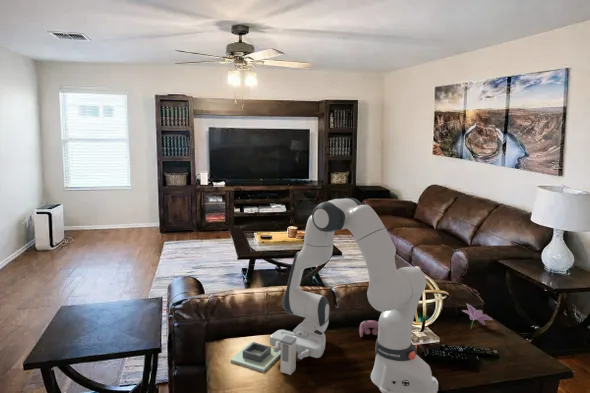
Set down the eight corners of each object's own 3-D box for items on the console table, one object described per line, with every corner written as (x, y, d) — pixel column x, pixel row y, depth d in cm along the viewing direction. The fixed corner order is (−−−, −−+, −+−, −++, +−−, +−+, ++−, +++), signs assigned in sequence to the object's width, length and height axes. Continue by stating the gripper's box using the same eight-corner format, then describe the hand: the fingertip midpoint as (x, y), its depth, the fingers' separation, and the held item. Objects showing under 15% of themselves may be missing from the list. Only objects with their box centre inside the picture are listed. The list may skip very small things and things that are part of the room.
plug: (295, 369, 165) (296, 337, 163) (289, 375, 161) (290, 343, 158) (285, 366, 167) (286, 335, 164) (279, 372, 163) (279, 341, 160)
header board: (282, 353, 175) (282, 345, 174) (263, 372, 163) (263, 363, 162) (250, 344, 181) (250, 336, 180) (230, 361, 169) (230, 353, 168)
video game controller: (383, 338, 191) (383, 321, 193) (384, 338, 186) (384, 320, 188) (358, 337, 192) (359, 319, 194) (359, 337, 187) (359, 319, 189)
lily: (493, 334, 195) (498, 312, 197) (472, 327, 191) (477, 304, 193) (473, 330, 206) (477, 309, 208) (452, 323, 202) (457, 302, 204)
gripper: (279, 322, 178) (261, 338, 166) (329, 334, 169) (313, 352, 157) (279, 337, 179) (261, 354, 167) (328, 350, 170) (313, 369, 158)
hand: (287, 353), depth 162 cm, fingers open, 8 cm apart
